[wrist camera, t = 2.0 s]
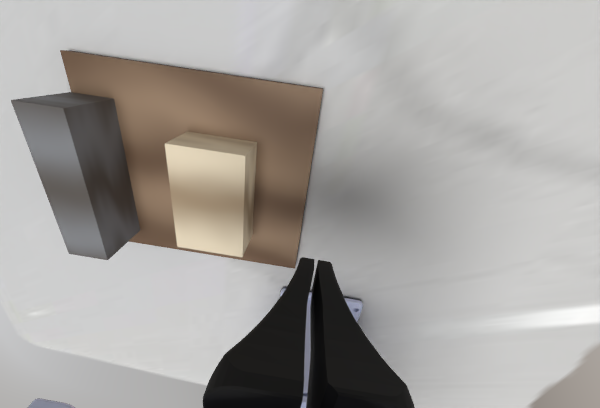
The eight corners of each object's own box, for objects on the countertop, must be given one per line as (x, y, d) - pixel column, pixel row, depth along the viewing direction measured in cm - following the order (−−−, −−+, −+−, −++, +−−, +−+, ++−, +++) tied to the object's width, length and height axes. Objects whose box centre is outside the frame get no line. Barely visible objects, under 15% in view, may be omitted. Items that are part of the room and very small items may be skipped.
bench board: (295, 263, 25) (289, 304, 21) (115, 234, 25) (74, 268, 21) (323, 88, 17) (321, 97, 13) (68, 50, 18) (-9, 48, 14)
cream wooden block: (252, 234, 23) (242, 257, 20) (194, 225, 23) (177, 246, 20) (257, 142, 19) (245, 156, 16) (187, 131, 19) (164, 143, 16)
